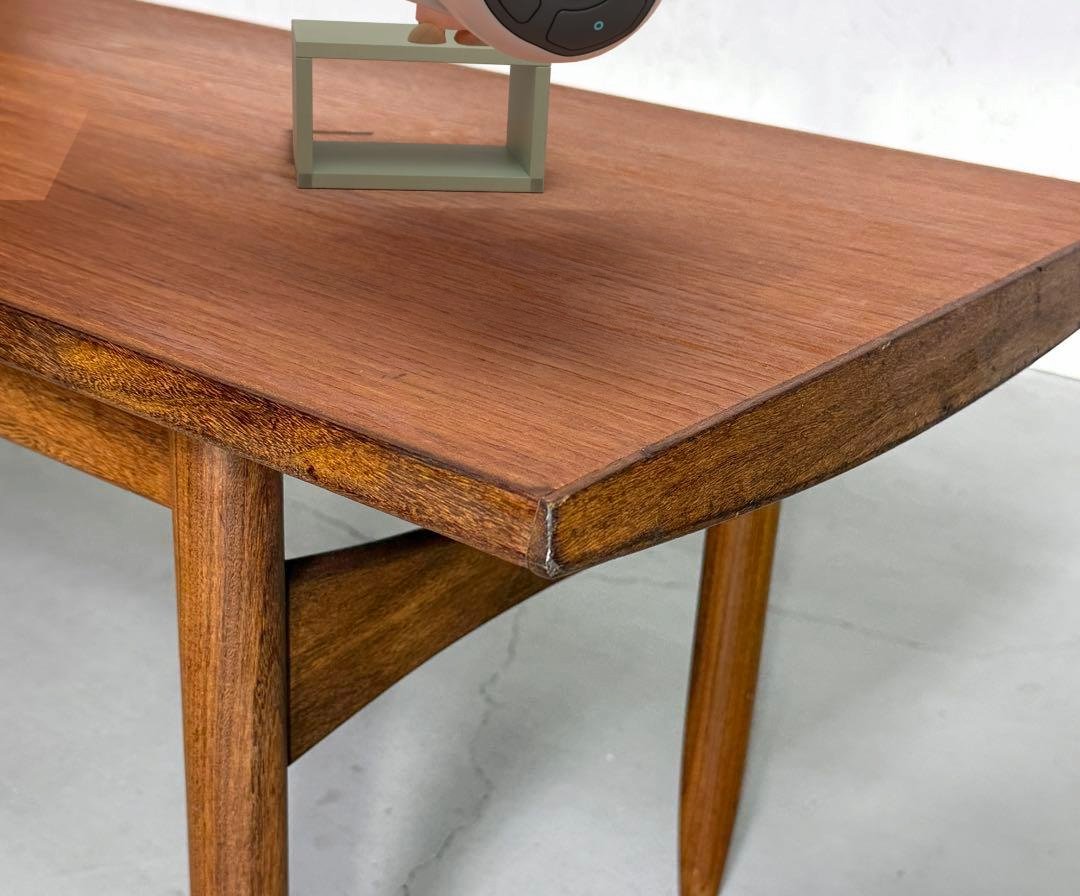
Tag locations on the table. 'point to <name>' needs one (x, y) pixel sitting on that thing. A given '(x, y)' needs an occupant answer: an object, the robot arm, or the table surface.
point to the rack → (416, 161)
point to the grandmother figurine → (439, 29)
